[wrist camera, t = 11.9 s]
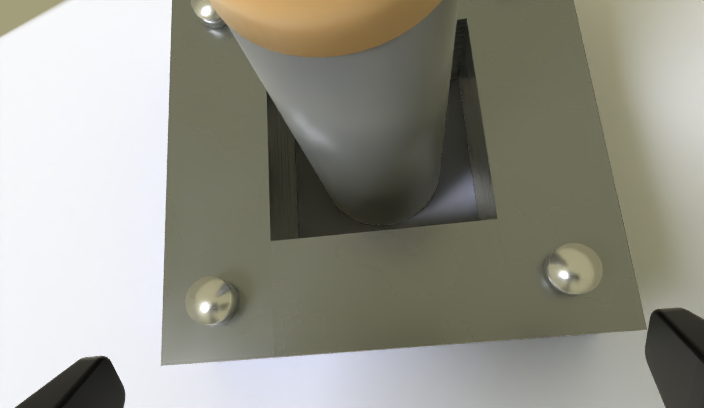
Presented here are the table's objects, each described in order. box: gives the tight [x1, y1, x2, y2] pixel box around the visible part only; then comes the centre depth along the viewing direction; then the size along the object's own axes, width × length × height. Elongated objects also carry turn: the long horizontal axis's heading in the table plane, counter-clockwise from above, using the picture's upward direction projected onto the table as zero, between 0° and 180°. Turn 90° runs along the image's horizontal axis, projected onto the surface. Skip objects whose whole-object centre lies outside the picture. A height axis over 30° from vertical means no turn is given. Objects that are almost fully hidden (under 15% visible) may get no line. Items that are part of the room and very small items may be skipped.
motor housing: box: [161, 0, 647, 366], centre depth 16 cm, size 12×12×4 cm
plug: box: [209, 0, 459, 225], centre depth 12 cm, size 4×4×13 cm
